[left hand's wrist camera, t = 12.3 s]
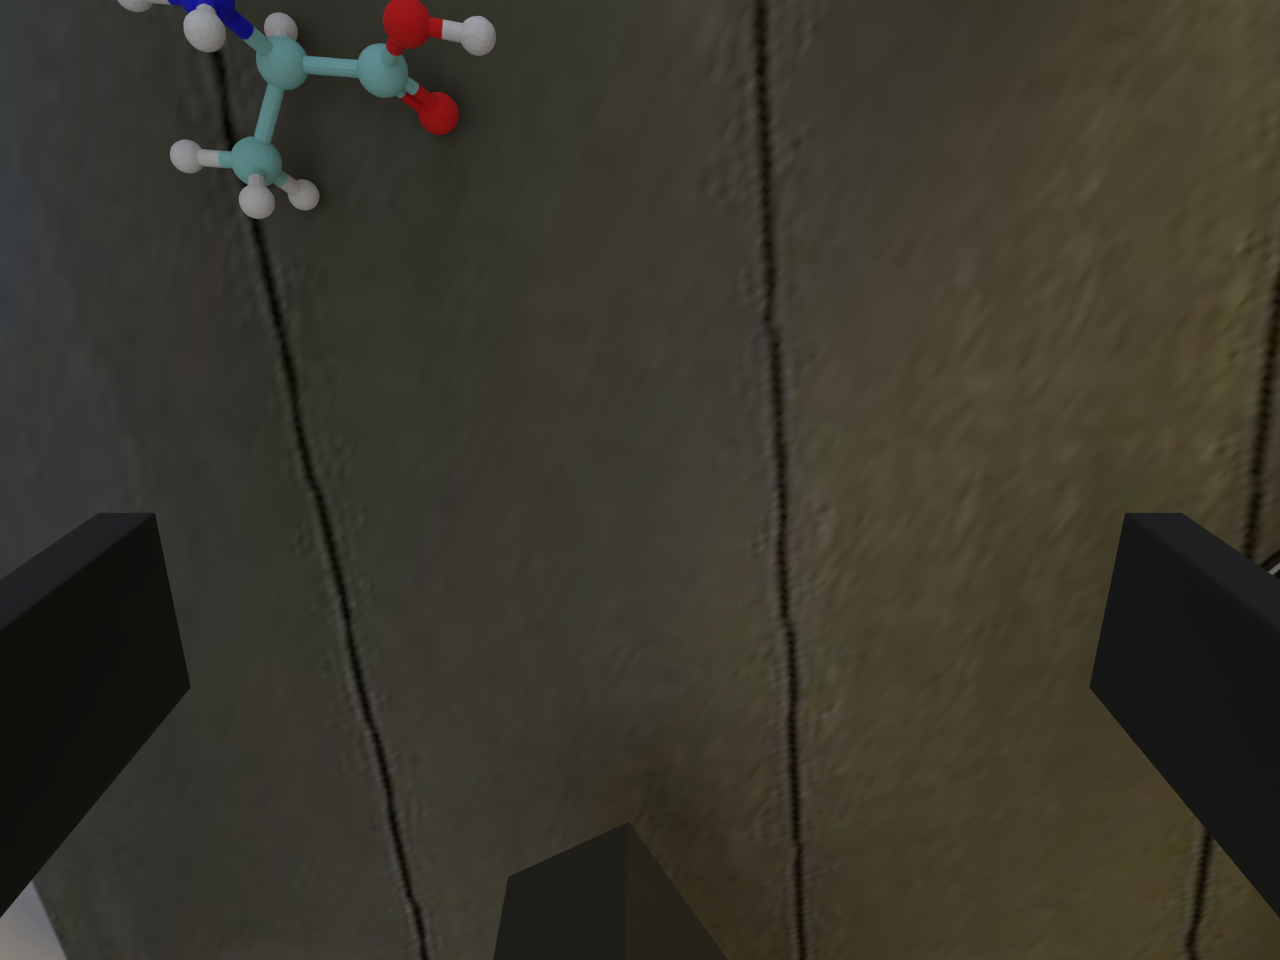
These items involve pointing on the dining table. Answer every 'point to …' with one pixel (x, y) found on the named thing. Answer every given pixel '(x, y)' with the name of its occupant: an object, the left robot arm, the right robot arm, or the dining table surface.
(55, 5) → the dining table surface
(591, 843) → the box
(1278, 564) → the right robot arm
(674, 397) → the dining table surface
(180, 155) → the molecular model
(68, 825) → the left robot arm
